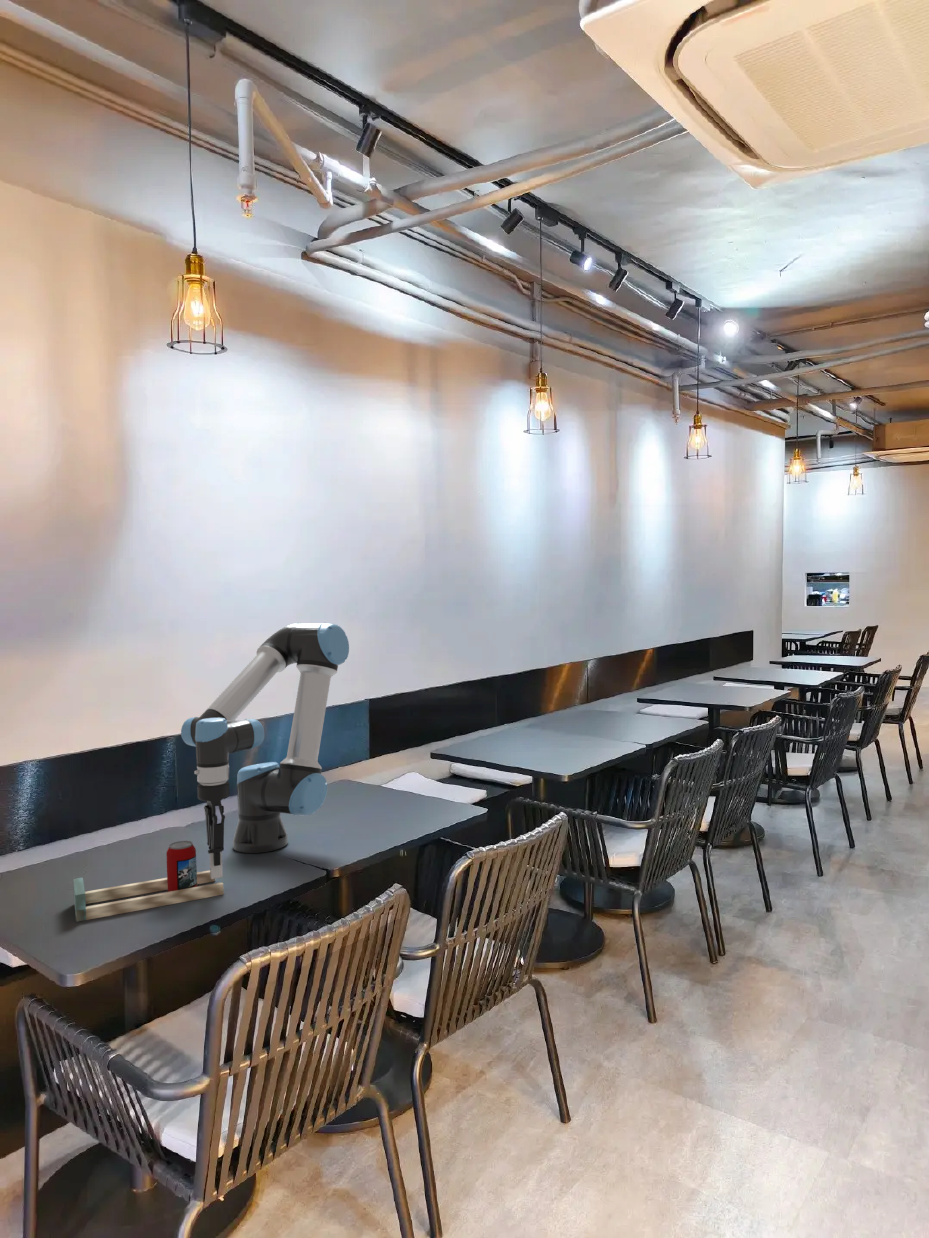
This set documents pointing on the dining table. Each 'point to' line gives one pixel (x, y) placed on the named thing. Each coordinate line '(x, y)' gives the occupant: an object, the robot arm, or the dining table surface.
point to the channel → (140, 902)
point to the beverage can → (181, 866)
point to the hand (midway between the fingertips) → (216, 877)
